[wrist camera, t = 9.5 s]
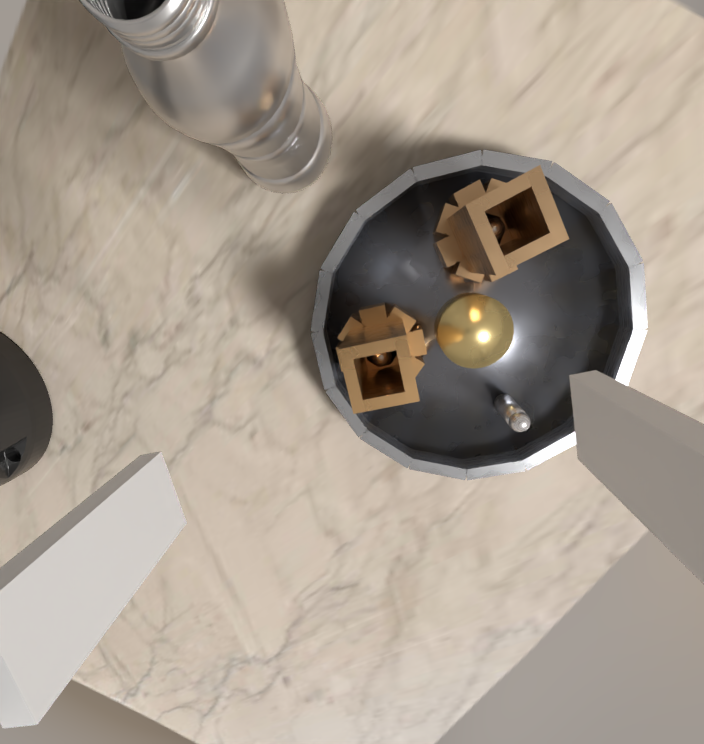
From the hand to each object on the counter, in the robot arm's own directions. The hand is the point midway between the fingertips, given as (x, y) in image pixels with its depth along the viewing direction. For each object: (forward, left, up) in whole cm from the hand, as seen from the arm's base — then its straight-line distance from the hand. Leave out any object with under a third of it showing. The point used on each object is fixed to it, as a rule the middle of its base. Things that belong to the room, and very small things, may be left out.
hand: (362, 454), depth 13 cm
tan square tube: (+9, +6, -19) cm, 22 cm away
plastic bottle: (-3, +15, -21) cm, 26 cm away
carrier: (+7, 0, -20) cm, 22 cm away
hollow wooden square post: (0, 0, -19) cm, 19 cm away
